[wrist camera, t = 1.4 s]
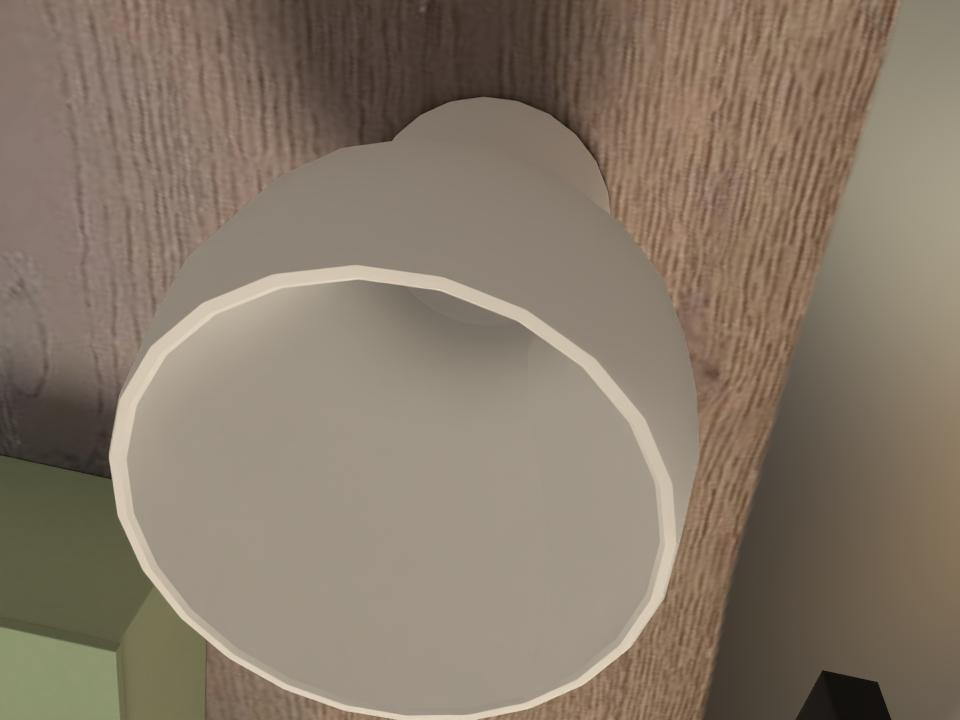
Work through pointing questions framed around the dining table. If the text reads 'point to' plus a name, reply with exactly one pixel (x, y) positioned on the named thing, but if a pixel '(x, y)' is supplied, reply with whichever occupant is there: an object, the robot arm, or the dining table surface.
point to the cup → (416, 425)
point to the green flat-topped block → (84, 609)
